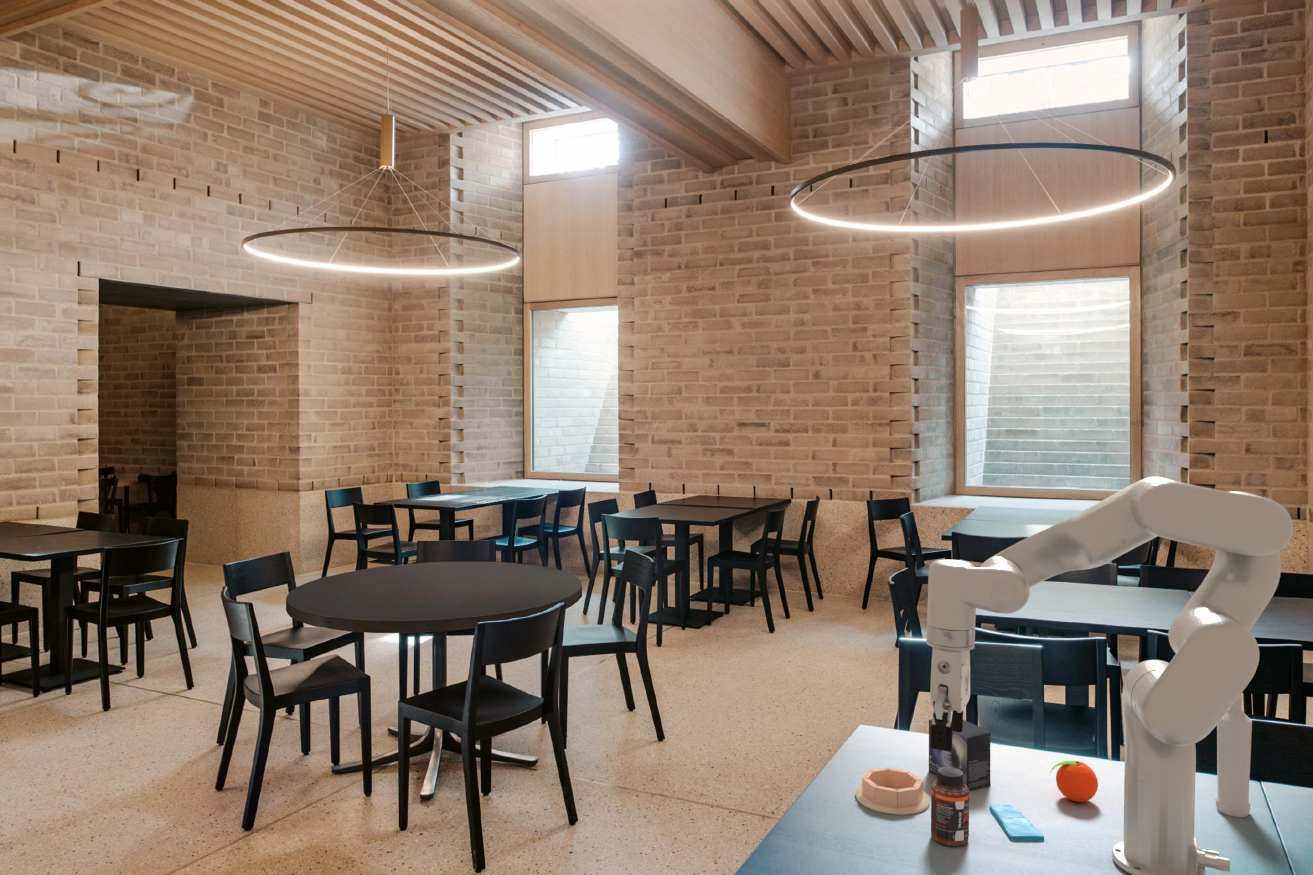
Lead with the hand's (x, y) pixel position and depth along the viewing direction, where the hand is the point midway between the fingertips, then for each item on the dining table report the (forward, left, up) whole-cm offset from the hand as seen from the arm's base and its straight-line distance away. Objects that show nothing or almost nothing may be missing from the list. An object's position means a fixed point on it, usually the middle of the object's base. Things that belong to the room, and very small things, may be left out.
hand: (947, 739), depth 148 cm
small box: (+2, -26, -17) cm, 31 cm away
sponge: (-10, -11, -17) cm, 22 cm away
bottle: (-43, -34, -17) cm, 57 cm away
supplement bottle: (-1, 0, -17) cm, 17 cm away
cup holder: (+11, -11, -17) cm, 23 cm away
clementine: (-18, -26, -17) cm, 36 cm away
